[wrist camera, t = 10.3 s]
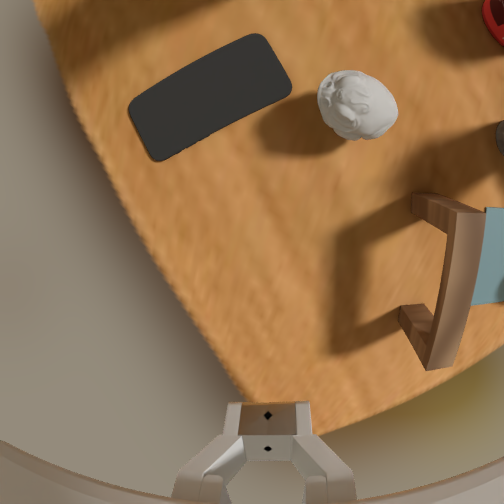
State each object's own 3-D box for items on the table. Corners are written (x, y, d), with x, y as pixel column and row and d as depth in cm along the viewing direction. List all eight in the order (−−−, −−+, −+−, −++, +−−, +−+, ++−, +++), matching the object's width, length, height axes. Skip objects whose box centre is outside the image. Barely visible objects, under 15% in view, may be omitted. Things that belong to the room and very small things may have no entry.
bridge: (398, 320, 32) (425, 370, 24) (411, 192, 28) (457, 212, 19) (420, 318, 32) (452, 366, 23) (437, 193, 27) (486, 213, 19)
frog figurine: (314, 72, 25) (324, 51, 18) (386, 89, 25) (414, 75, 18) (306, 133, 27) (314, 129, 20) (378, 148, 27) (405, 150, 20)
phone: (297, 92, 26) (155, 166, 29) (296, 94, 26) (158, 165, 30) (260, 29, 24) (124, 104, 27) (260, 31, 24) (128, 104, 28)
